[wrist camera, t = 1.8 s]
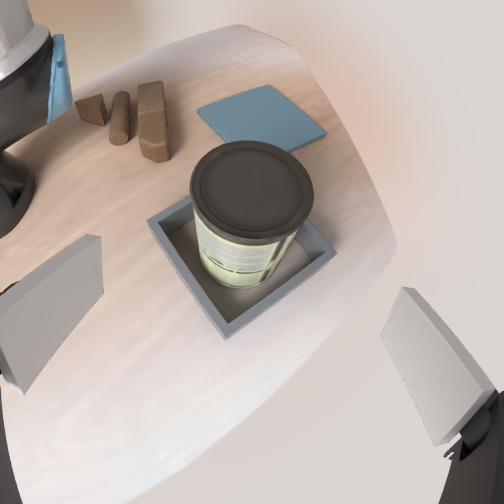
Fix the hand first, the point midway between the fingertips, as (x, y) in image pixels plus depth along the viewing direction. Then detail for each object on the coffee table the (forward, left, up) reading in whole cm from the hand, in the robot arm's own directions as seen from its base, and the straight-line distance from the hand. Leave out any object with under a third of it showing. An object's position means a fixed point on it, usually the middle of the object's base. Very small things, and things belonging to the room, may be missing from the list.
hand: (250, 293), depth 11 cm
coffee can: (-8, +8, -22) cm, 25 cm away
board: (-25, +25, -22) cm, 41 cm away
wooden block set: (-37, +3, -23) cm, 43 cm away
